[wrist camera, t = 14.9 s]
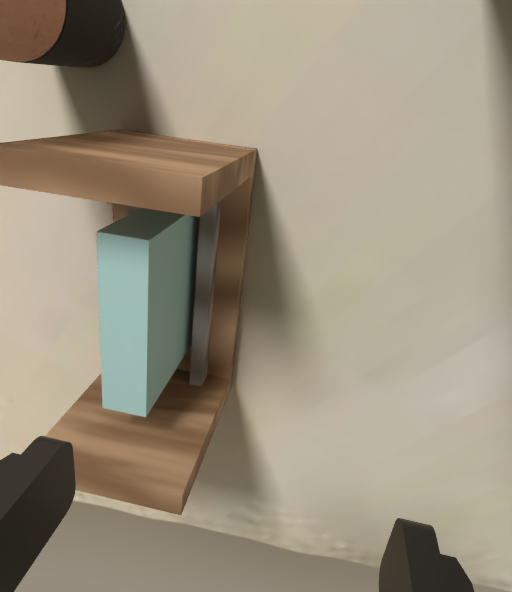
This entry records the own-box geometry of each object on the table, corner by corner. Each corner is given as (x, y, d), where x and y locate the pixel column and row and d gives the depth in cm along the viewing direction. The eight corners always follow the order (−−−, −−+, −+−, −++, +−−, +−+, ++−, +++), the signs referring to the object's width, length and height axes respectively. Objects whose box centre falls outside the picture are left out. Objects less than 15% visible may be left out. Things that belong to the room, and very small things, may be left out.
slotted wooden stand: (119, 129, 38) (-17, 144, 23) (257, 149, 36) (202, 177, 22) (122, 365, 48) (27, 478, 33) (230, 387, 46) (181, 515, 32)
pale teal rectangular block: (160, 198, 38) (96, 231, 28) (199, 204, 38) (149, 240, 28) (156, 339, 44) (102, 407, 34) (190, 345, 43) (145, 417, 33)
